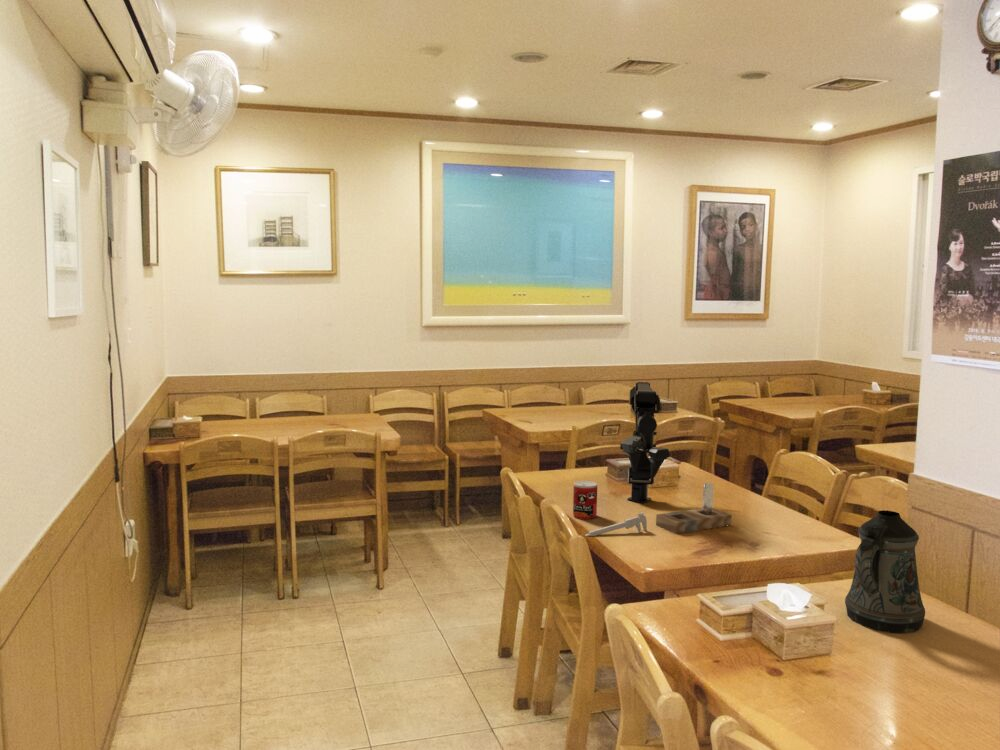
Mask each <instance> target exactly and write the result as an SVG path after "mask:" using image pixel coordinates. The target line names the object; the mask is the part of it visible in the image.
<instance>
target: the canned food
mask: <svg viewBox="0 0 1000 750" xmlns="http://www.w3.org/2000/svg"><path fill="white" fill-rule="evenodd" d="M572 491H573V495H572V496H573V497H572V499H573V501H572V502H573V503H572V513H573V517H574V518H576V517H577V518H576V519H579V518H581V519H580V520H592V519H594V517H595V518H596V516H597V511H598V509H597V507H598V483H597V482H595V481H592V480H577V481H575V482H573V490H572ZM591 518H592V519H591Z"/></svg>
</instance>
